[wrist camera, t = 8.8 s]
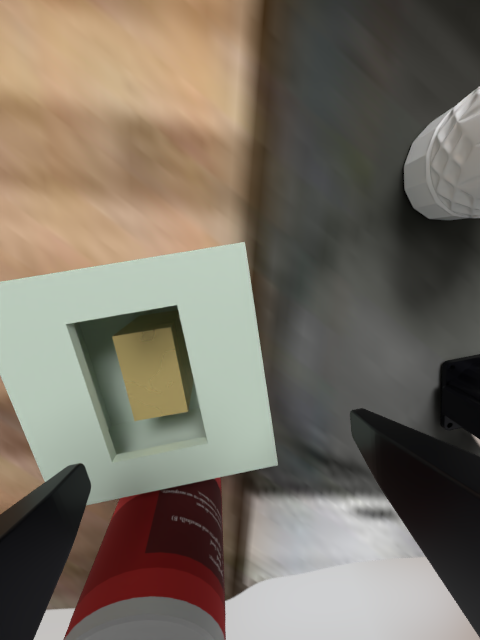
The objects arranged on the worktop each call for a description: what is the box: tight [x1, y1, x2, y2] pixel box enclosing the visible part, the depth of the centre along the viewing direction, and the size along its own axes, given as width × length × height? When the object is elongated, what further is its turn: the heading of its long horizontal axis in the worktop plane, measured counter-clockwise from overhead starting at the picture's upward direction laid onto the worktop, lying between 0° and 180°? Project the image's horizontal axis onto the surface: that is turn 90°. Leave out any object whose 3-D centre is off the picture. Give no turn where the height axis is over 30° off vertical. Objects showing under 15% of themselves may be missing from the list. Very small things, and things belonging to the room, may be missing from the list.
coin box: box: [0, 242, 278, 505], centre depth 16 cm, size 12×12×7 cm
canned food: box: [64, 477, 226, 640], centre depth 17 cm, size 8×8×11 cm
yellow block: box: [112, 310, 194, 421], centre depth 17 cm, size 3×5×5 cm, turn 8°
